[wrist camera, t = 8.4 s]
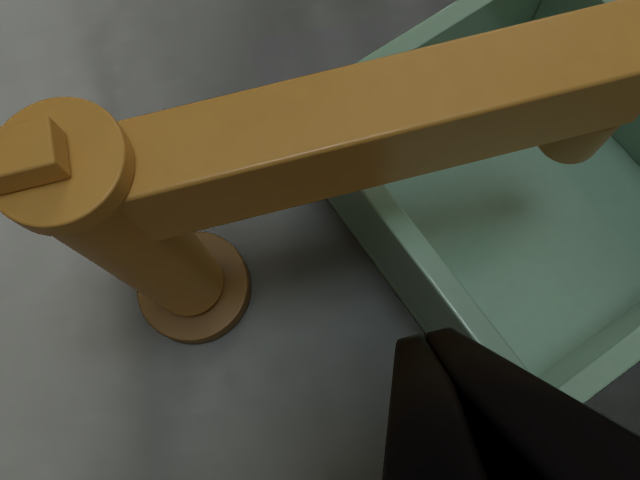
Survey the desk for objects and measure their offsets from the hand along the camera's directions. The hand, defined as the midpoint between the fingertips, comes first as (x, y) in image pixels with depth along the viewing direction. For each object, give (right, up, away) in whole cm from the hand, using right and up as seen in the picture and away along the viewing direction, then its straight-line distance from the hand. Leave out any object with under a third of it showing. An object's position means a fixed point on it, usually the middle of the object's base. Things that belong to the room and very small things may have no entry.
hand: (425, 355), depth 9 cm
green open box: (+6, +3, +13) cm, 15 cm away
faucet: (-2, +1, +12) cm, 12 cm away
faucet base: (-6, 0, +13) cm, 14 cm away
